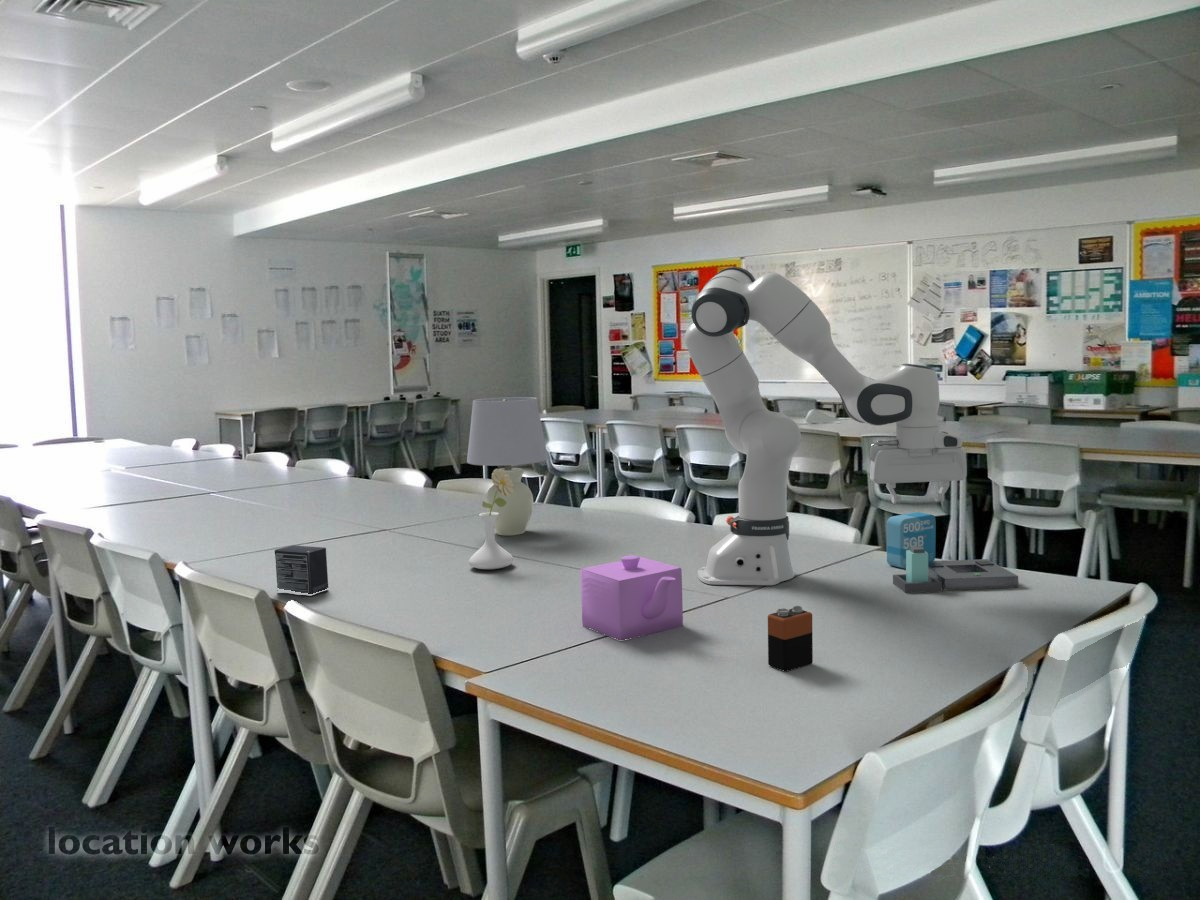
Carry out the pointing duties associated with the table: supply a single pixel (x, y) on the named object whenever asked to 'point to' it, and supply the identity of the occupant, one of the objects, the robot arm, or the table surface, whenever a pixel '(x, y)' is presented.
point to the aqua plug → (916, 565)
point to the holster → (917, 584)
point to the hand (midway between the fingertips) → (917, 502)
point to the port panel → (971, 574)
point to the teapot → (631, 597)
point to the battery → (790, 638)
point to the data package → (910, 536)
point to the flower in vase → (491, 551)
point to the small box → (301, 569)
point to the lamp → (507, 453)
